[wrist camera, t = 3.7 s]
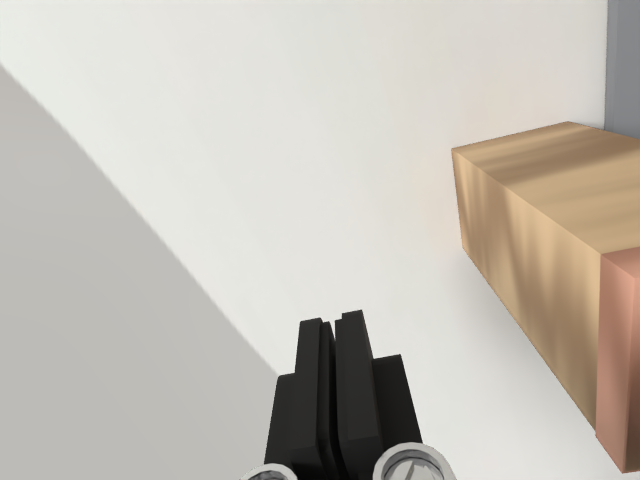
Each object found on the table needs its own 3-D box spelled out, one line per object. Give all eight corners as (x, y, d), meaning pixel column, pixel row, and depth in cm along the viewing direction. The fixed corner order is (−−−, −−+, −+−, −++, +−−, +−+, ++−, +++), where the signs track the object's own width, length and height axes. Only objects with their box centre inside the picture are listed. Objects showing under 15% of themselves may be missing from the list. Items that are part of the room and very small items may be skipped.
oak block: (450, 147, 18) (634, 278, 7) (569, 119, 18) (965, 216, 7) (462, 249, 20) (622, 473, 9) (569, 227, 20) (877, 437, 9)
